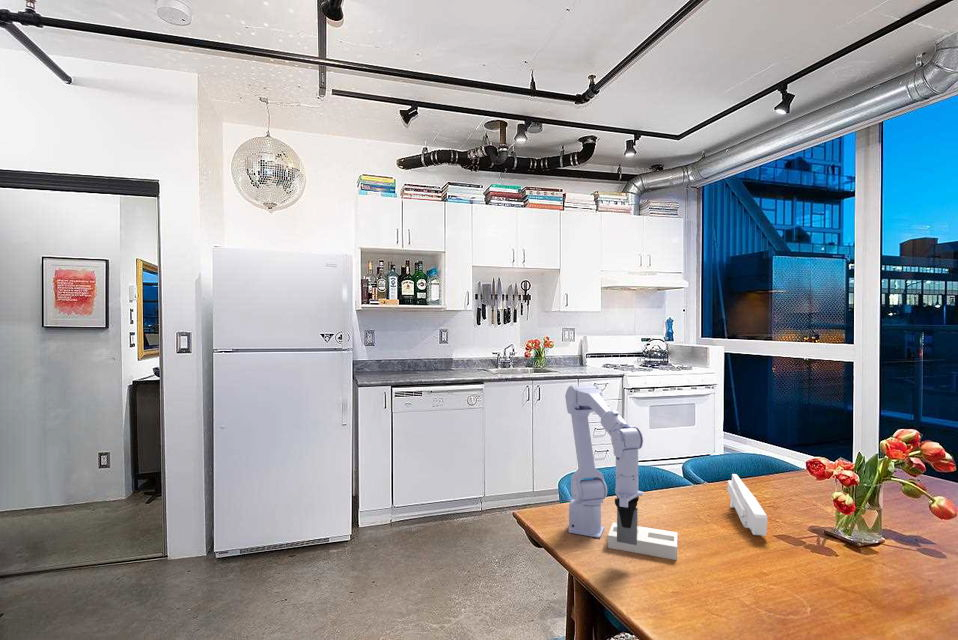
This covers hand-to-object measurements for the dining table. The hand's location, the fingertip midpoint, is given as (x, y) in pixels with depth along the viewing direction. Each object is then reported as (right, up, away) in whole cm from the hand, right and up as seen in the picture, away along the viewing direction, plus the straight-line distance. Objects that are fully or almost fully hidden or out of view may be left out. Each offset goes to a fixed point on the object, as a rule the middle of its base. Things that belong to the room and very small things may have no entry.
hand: (627, 525), depth 127 cm
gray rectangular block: (0, -4, 0) cm, 4 cm away
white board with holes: (+8, -10, +10) cm, 16 cm away
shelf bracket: (+46, -11, +27) cm, 54 cm away
